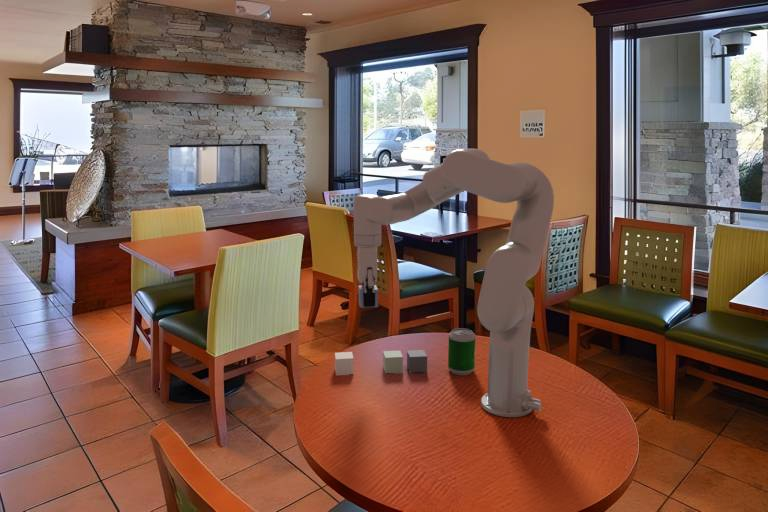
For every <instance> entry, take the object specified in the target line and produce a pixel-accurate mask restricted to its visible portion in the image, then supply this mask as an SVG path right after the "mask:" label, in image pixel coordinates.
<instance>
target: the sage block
mask: <svg viewBox="0 0 768 512" xmlns="http://www.w3.org/2000/svg"><path fill="white" fill-rule="evenodd" d="M403 362H404V356H403V354H402V351H401V350H383V351H382V368H383V371H384V374H385V375H387V374H386V373H395V374H402V373H401V372H403V373H404V371H403V370H404V369H403V367H404V363H403Z"/></svg>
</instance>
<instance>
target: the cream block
mask: <svg viewBox="0 0 768 512" xmlns="http://www.w3.org/2000/svg"><path fill="white" fill-rule="evenodd" d="M354 364H355V363H354V354H353V351H342V352H341V351H339V352H334V370H335V371H334V372H335V376H350V375H349V374H354V373H355V372H354V368H355V367H354ZM354 375H355V374H354Z"/></svg>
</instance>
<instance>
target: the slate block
mask: <svg viewBox="0 0 768 512" xmlns="http://www.w3.org/2000/svg"><path fill="white" fill-rule="evenodd" d="M366 286H367V285H366ZM357 287H358V288H357V290H358V305H359V308H365V307H364V305H363V292H364V285H362V284H361V285H358V286H357ZM374 290H375V306H374V307H373V308H379V288H378V287H377V284H374Z"/></svg>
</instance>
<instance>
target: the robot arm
mask: <svg viewBox="0 0 768 512" xmlns="http://www.w3.org/2000/svg"><path fill="white" fill-rule="evenodd" d="M463 192H467V193H471V194H473V195H476V196H477V197H478V196H479V197H482V198H485V199H487V200H488V201H489V200H490V201H492V202H495V203H500V204H509V203H513V202H516V209H515V210H514V211H515V212H514V213H513V216H512V218H511V223H510V229H509V232H508V235H507V239H506V242H505V244H504V245H503V246H500V247H499V248H497V249H496V250H495V251H494V252H492V254H491V255H490V257H489V258H488V260H487V263H486V265H485V266H486V267H485V269H484V270H485V271H484V275H483V277H482V278H483V279H482V283H481V288H480V290H479V291H480V292H479V297H478V302H477V308H476V309H477V310H476V311H477V317H478V319H479V322H480V324H481V325H482V326H483V327H484V328H485V329H486V330H488V331H489V345H488V346H489V349H488V374H487V375H488V376H487V377H488V378H487V393H485V394H484V395H482V397H481V398H480V405H481V407H482V409H484V410H485V411H486V412H488V413H490V414H492V415H495V416H498V417H503V418H520V417H525V416H527V415H529V414H530V413H531V412H532V411H536V412H541V411H542V409H543V404H542V400H541V399H539V398H535V397H532V395H531V394H532V393H531V391H532V390H530V389H528V378H529V377H528V375H529V359H530V343H531V331H532V324H533V318H534V312H535V299H534V296H533V293H532V291H531V290H530V289H529V288H528V286H527V285H526V284H527V282H528V281H529V280H530V279H532V278H533V277H534V276H536V274H537V273H538V272H539V270H540V268H541V263H542V258H543V254H544V250H545V246H546V241H547V238H548V232H549V228H550V223H551V220H552V216H553V210H554V207H555V206H554V204H555V195H554V189H553V187H552V183H551V182H550V179H549V178H548V177H547V176H546V174H545V173H544V172H543V171H542V170H541V169H539V168H538V167H536V166H535V165H533V164H530V163H527V162H513V163H503V162H500V161H497V160H493V159H491V158H490V157H489V155H488V154H487V153H486V152H485V151H483V150H482V149H478V148H459V149H455V150H453V151H451V152H449V153H448V154H447V155H446V157H445V158H444V159H443V161H442V163H440V164H438V165H437V166H435V167H432V168H431V169H430V170H428V171H426V172H425V173H424V174H423V176H422V181H421V182H420V183H419V184H417V185H414V186H413V187H412V188H409V189H408V190H406V191H403V192H402V193H398V194H391V195H390V194H389V195H384V196H380V195H377V194H367V193H366V194H364V193H363V194H358V195H356V196H355V197H354V198H353V246H354V247H357V251H356V255H357V256H356V257H357V258H356V259H357V260H356V276H357V280H358V282H359V283H361V286H362V285H364V292H363V305H364V308H375V307H374V306H375V290H374V285H375V283H376V282H377V281H378V247H381V246H382V225H383V226H389V225H393V224H397V223H402V222H406V221H409V220H411V219H414V218H415V217H418V216H421V214H424V213H426V212H428V211H429V210H431V209H433V208H435V207H437V206H439V205H441V204H442V203H443V202H445V201H447V200H449V199H451V198H453V197H455V196H457V195H459V194H461V193H463ZM366 285H367V286H366Z"/></svg>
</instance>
